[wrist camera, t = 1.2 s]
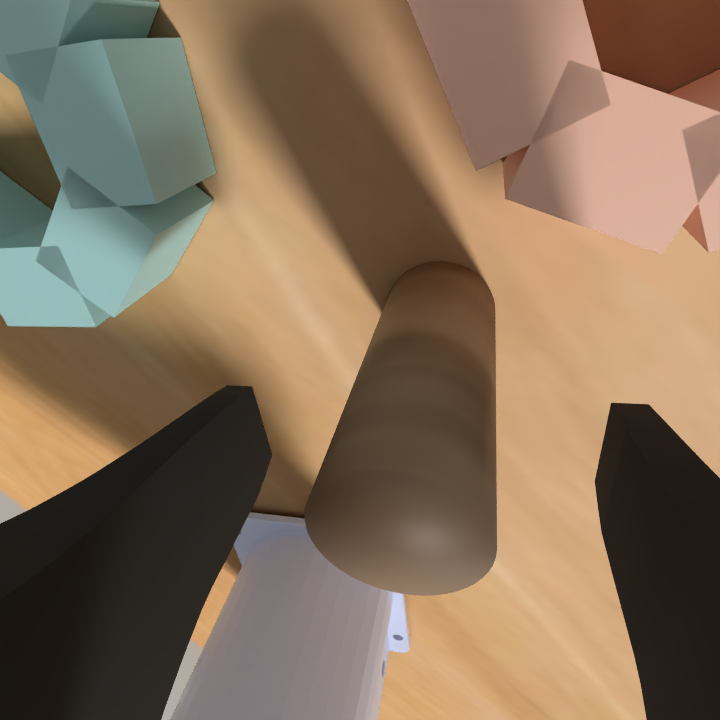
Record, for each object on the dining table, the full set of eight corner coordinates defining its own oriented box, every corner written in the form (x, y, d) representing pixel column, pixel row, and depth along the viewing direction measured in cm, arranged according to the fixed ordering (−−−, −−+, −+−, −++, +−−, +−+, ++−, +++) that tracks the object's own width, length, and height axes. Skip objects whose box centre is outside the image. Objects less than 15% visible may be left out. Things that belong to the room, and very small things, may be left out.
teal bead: (245, 281, 15) (198, 328, 13) (2, 285, 18) (-75, 325, 15) (131, -151, 10) (17, -208, 8) (-190, -62, 13) (-353, -84, 10)
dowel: (493, 358, 15) (493, 607, 8) (391, 356, 16) (320, 581, 9) (497, 260, 13) (500, 478, 7) (382, 263, 14) (288, 460, 8)
